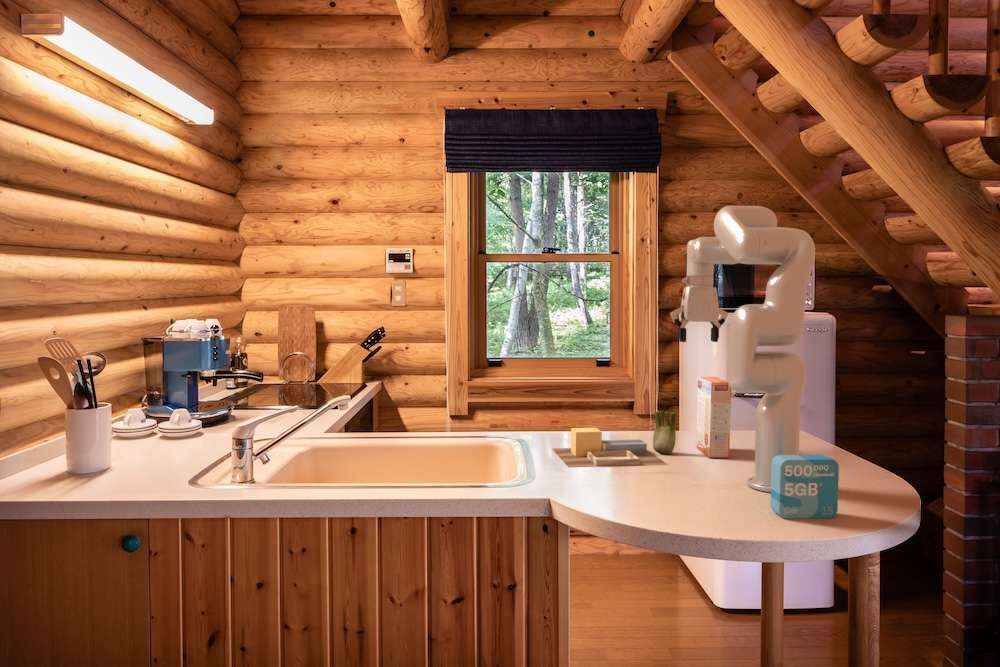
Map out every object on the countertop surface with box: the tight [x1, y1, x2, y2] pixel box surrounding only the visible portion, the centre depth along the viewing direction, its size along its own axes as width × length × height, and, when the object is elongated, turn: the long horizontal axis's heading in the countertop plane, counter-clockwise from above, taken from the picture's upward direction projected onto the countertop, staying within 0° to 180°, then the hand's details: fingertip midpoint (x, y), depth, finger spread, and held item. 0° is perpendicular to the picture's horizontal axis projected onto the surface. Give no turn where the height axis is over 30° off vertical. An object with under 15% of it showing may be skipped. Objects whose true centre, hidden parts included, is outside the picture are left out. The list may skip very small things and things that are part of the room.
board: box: [551, 439, 669, 468], centre depth 197 cm, size 22×26×4 cm
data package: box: [770, 454, 840, 520], centre depth 149 cm, size 12×4×12 cm, turn 93°
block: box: [570, 427, 603, 456], centre depth 200 cm, size 6×7×6 cm
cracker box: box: [696, 376, 732, 459], centre depth 206 cm, size 14×6×21 cm, turn 179°
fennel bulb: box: [652, 410, 677, 455], centre depth 206 cm, size 6×5×12 cm
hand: (698, 341), depth 214 cm, fingers open, 9 cm apart
